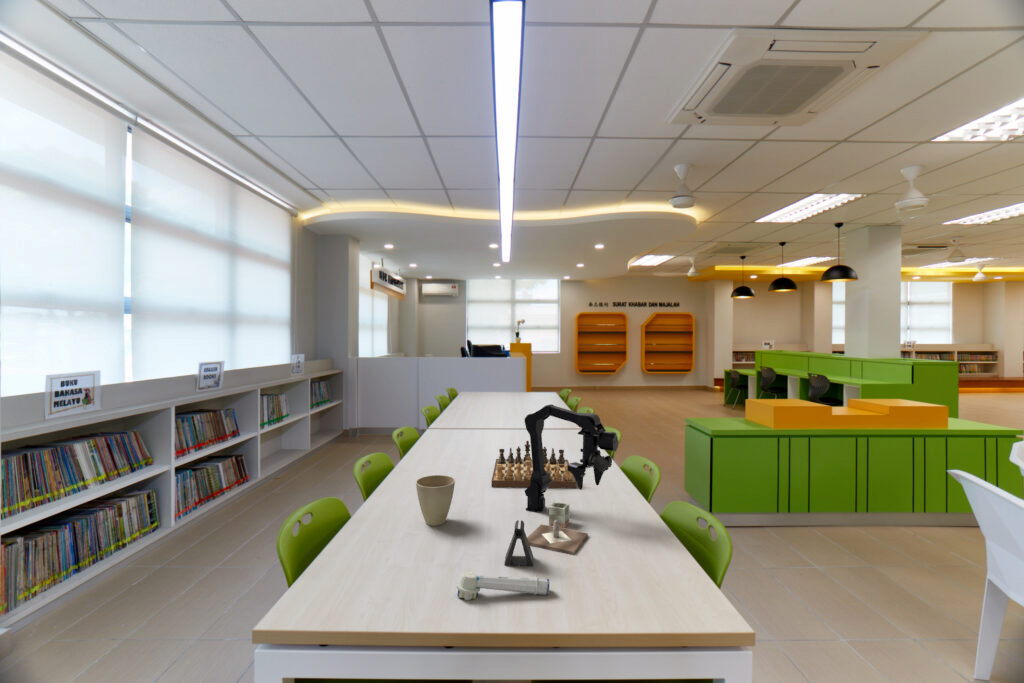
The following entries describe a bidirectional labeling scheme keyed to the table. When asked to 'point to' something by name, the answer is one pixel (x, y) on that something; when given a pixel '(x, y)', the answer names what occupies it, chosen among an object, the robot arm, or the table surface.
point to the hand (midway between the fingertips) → (589, 487)
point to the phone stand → (528, 557)
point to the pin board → (557, 538)
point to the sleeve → (559, 514)
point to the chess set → (530, 470)
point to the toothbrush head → (500, 585)
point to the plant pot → (435, 497)
